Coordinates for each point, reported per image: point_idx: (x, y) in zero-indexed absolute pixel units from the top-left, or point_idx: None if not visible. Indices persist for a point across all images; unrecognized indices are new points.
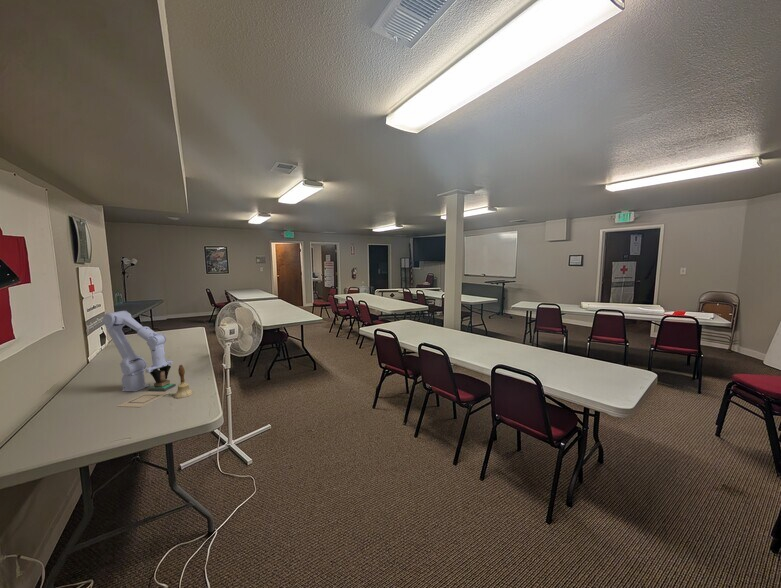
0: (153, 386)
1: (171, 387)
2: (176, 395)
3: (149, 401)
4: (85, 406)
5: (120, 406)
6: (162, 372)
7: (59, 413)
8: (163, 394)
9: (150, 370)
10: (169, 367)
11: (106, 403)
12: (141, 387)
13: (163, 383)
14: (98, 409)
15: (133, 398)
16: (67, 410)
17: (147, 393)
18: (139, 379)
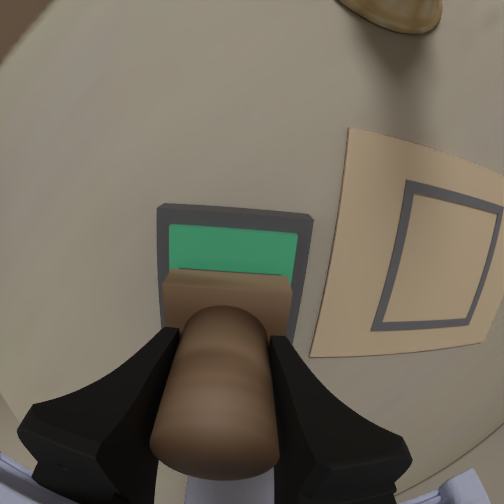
0: None
1: (218, 207)
2: (438, 5)
3: (490, 182)
4: (414, 451)
5: (492, 319)
6: (235, 422)
7: (438, 456)
8: (394, 155)
9: (459, 500)
10: (57, 419)
11: (420, 418)
12: None
13: (264, 288)
14: (473, 386)
15: (416, 350)
16: (424, 460)
17: (347, 333)
18: (249, 490)
